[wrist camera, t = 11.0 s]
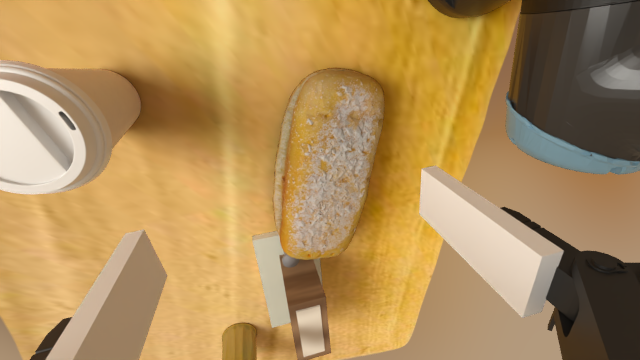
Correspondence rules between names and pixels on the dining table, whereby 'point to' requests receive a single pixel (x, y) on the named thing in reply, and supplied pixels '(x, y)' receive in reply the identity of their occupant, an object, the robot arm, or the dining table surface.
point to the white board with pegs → (275, 274)
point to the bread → (326, 161)
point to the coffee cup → (60, 125)
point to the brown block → (306, 309)
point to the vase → (239, 342)
